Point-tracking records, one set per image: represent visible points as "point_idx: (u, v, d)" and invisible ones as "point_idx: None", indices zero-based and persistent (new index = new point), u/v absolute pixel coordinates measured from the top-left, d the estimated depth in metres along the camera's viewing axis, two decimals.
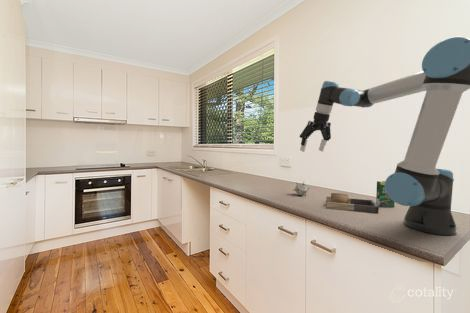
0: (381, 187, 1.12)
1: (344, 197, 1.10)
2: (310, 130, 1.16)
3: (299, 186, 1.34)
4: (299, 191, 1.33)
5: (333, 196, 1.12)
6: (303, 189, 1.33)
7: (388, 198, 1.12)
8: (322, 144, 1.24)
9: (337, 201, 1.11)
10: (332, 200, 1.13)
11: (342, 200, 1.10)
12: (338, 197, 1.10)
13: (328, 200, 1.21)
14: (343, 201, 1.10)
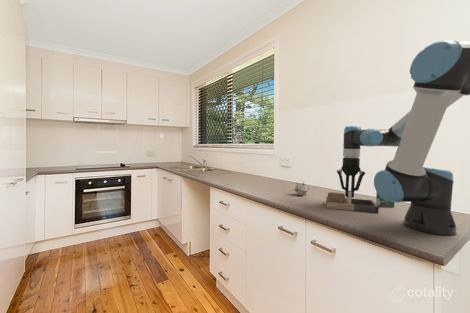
0: None
1: (341, 196, 1.11)
2: (346, 179, 1.13)
3: (299, 186, 1.34)
4: (299, 191, 1.33)
5: (330, 195, 1.13)
6: (303, 189, 1.33)
7: None
8: None
9: (334, 200, 1.12)
10: (329, 199, 1.14)
11: (339, 199, 1.11)
12: (335, 197, 1.11)
13: None
14: (340, 200, 1.11)
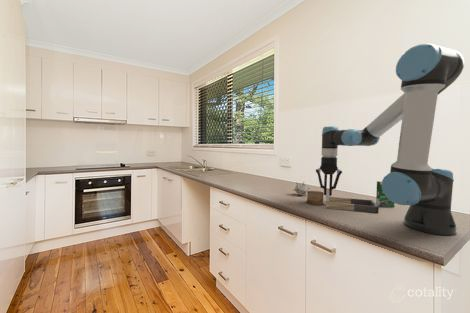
0: (381, 187, 1.12)
1: (319, 195, 1.15)
2: (324, 178, 1.16)
3: (299, 186, 1.34)
4: (299, 191, 1.33)
5: (309, 194, 1.17)
6: (303, 189, 1.33)
7: None
8: None
9: (313, 198, 1.15)
10: (308, 197, 1.18)
11: (317, 197, 1.15)
12: (314, 195, 1.15)
13: None
14: (318, 198, 1.15)
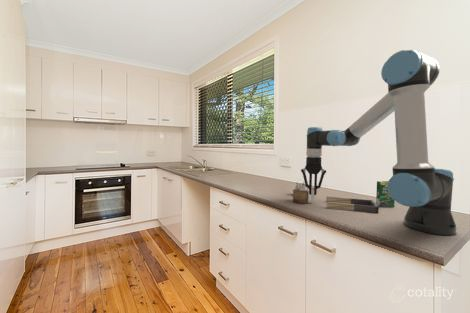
0: (381, 187, 1.12)
1: (304, 193, 1.17)
2: (309, 177, 1.19)
3: (299, 186, 1.34)
4: None
5: (294, 192, 1.20)
6: (303, 189, 1.33)
7: (388, 198, 1.12)
8: None
9: (298, 197, 1.18)
10: (294, 196, 1.20)
11: (302, 196, 1.17)
12: (299, 194, 1.18)
13: (328, 200, 1.21)
14: (303, 197, 1.17)
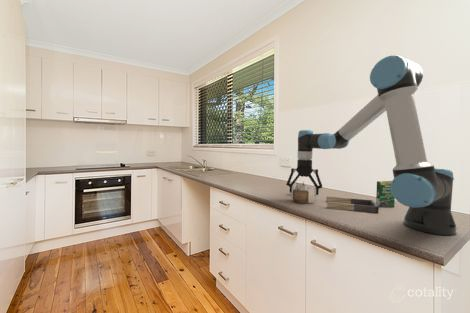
0: (381, 187, 1.12)
1: (305, 193, 1.17)
2: None
3: (299, 186, 1.34)
4: None
5: (295, 193, 1.19)
6: (303, 189, 1.33)
7: (388, 198, 1.12)
8: None
9: (298, 197, 1.18)
10: (294, 196, 1.20)
11: (303, 196, 1.17)
12: (299, 194, 1.17)
13: (328, 200, 1.21)
14: (304, 197, 1.17)
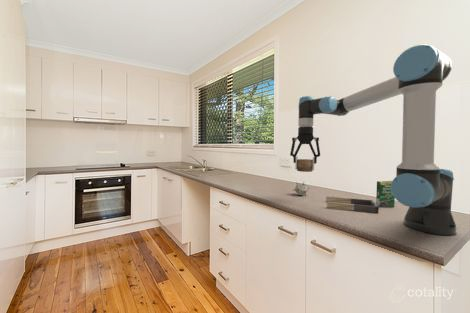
0: (381, 187, 1.12)
1: (309, 161, 1.15)
2: None
3: (299, 186, 1.34)
4: (299, 191, 1.33)
5: (299, 161, 1.18)
6: (303, 189, 1.33)
7: (388, 198, 1.12)
8: None
9: (302, 165, 1.16)
10: (298, 165, 1.18)
11: (307, 163, 1.15)
12: (304, 161, 1.16)
13: (328, 200, 1.21)
14: (308, 165, 1.16)
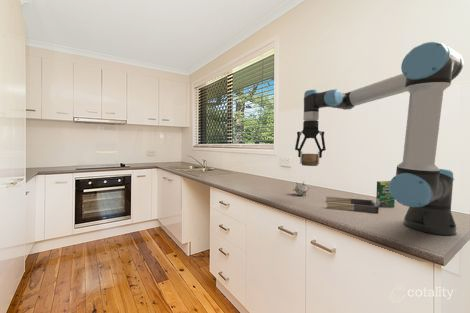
0: (381, 187, 1.12)
1: (314, 155, 1.14)
2: None
3: (299, 186, 1.34)
4: (299, 191, 1.33)
5: (304, 155, 1.17)
6: (303, 189, 1.33)
7: (388, 198, 1.12)
8: None
9: (307, 159, 1.15)
10: (303, 159, 1.17)
11: (312, 157, 1.14)
12: (309, 155, 1.15)
13: (328, 200, 1.21)
14: (313, 159, 1.15)
